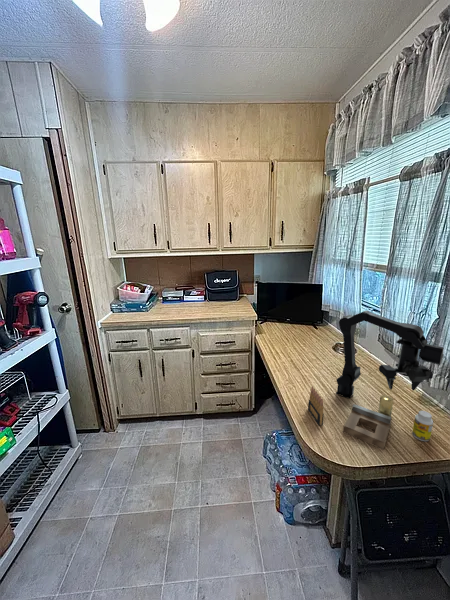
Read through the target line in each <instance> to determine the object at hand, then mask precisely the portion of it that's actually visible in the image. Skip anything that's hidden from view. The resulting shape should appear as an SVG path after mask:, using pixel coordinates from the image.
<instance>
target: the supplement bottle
mask: <svg viewBox="0 0 450 600" xmlns="http://www.w3.org/2000/svg"><path fill="white" fill-rule="evenodd" d="M432 417H433V415H432V414H431V413H430V412H428V411H426V410H419V411H418V414H415V416H414V421H413V426H412V432H411V434H412V436H413V437H414V438H415V439H417V440H419V441H421V442H429V441H430V440H431V434H432V431H433V426H434V421H433V419H432Z"/></svg>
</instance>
